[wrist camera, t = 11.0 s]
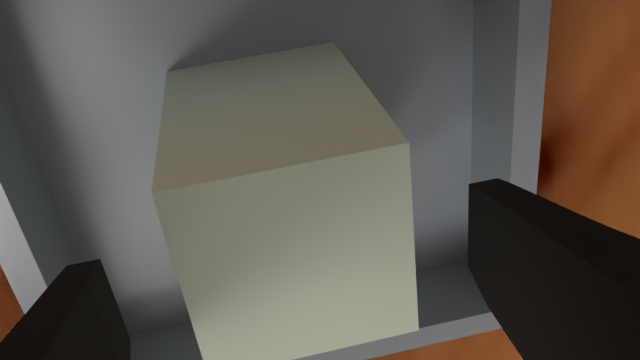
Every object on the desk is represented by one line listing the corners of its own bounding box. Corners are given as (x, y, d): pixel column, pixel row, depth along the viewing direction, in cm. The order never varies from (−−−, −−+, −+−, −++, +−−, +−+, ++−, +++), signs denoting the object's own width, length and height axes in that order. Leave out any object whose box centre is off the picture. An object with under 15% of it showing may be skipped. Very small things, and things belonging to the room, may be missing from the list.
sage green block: (204, 213, 18) (209, 378, 12) (166, 71, 15) (151, 193, 10) (349, 184, 18) (418, 330, 13) (333, 41, 16) (409, 142, 10)
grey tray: (94, 347, 20) (78, 425, 17) (-97, -105, 13) (-175, -94, 10) (483, 263, 22) (526, 323, 19) (496, -184, 15) (566, -193, 12)
